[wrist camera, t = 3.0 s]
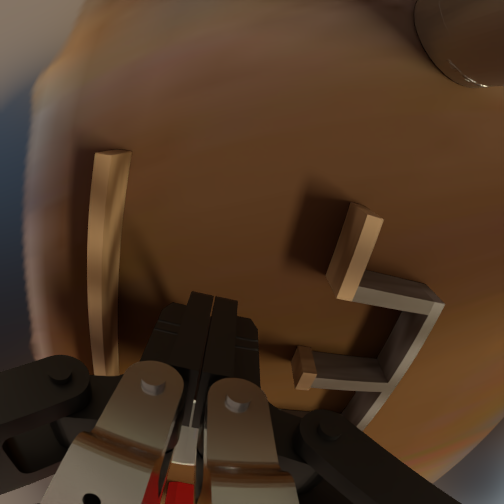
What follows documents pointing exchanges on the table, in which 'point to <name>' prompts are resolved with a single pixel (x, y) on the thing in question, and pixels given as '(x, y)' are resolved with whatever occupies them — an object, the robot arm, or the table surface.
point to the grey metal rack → (304, 360)
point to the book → (180, 493)
